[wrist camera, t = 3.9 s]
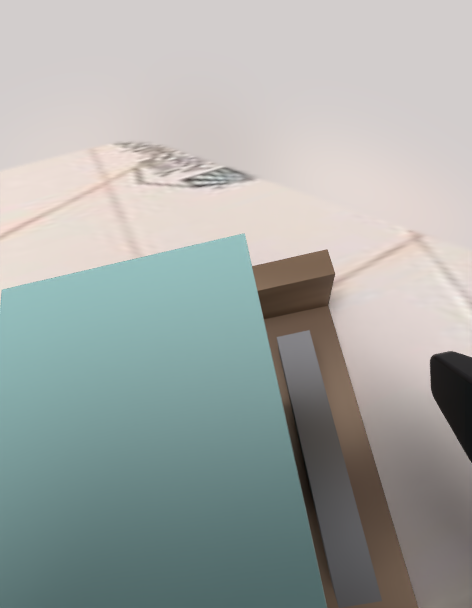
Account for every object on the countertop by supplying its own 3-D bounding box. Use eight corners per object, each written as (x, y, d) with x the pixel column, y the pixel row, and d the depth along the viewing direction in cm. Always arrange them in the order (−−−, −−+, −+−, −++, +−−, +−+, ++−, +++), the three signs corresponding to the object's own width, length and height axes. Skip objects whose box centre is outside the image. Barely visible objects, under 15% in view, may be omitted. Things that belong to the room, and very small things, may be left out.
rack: (428, 659, 12) (546, 837, 6) (-43, 731, 13) (-296, 937, 7) (320, 292, 17) (333, 212, 11) (-10, 364, 18) (-144, 323, 12)
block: (307, 517, 13) (378, 848, 2) (237, 530, 13) (-49, 898, 2) (282, 402, 15) (244, 233, 4) (219, 414, 15) (1, 290, 4)
